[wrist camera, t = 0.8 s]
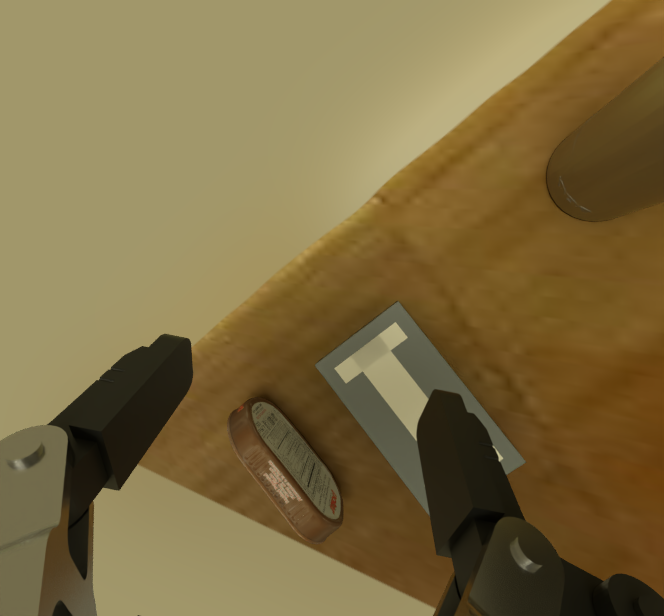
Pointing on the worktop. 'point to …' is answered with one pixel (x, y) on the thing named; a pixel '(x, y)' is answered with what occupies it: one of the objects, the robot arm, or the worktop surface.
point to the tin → (286, 469)
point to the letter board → (400, 391)
